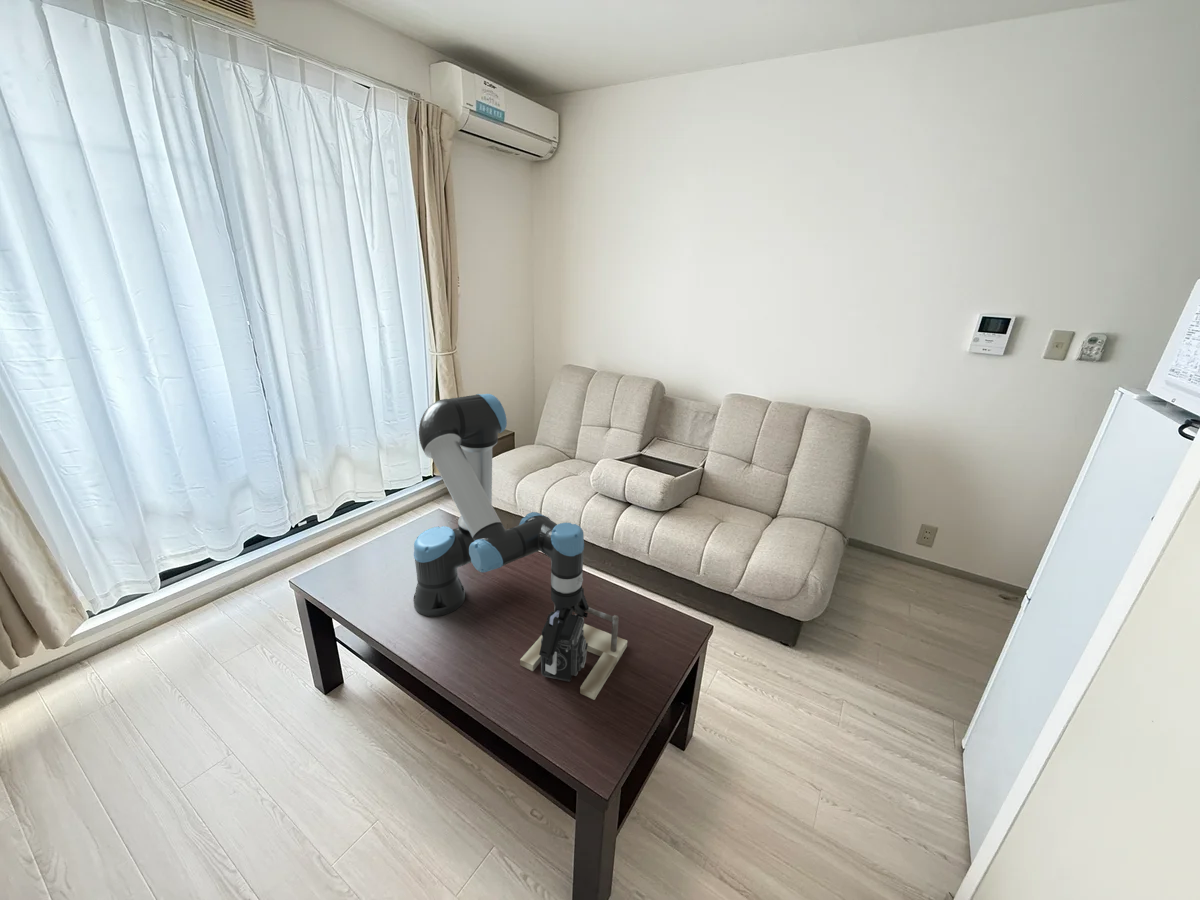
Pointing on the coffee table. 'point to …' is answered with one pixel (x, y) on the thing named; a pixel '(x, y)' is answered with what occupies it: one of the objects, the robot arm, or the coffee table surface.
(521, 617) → the coffee table surface
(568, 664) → the camera
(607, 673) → the wooden rack
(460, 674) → the coffee table surface
